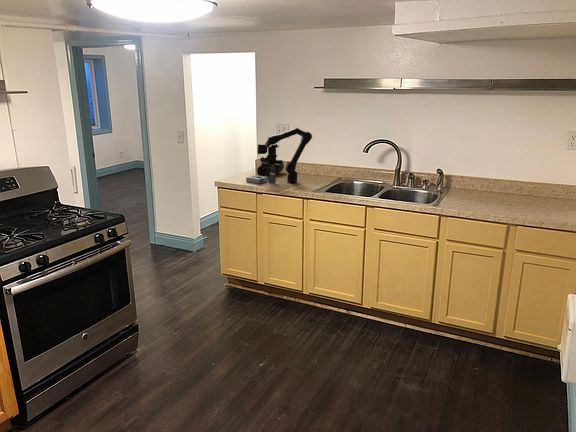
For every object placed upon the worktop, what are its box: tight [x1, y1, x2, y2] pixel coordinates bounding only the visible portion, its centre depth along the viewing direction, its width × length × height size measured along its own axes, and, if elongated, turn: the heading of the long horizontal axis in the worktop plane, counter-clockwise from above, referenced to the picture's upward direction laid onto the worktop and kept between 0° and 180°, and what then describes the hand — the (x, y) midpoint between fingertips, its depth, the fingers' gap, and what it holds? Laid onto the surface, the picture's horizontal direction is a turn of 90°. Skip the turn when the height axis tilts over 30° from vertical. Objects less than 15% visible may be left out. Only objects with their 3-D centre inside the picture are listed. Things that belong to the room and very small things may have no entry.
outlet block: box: [245, 174, 269, 185], centre depth 344 cm, size 12×10×4 cm
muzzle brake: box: [256, 162, 285, 177], centre depth 369 cm, size 10×28×10 cm, turn 152°
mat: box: [262, 181, 280, 186], centre depth 340 cm, size 9×9×1 cm
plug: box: [268, 173, 277, 184], centre depth 339 cm, size 4×3×7 cm, turn 54°
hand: (272, 175), depth 339 cm, fingers open, 9 cm apart
